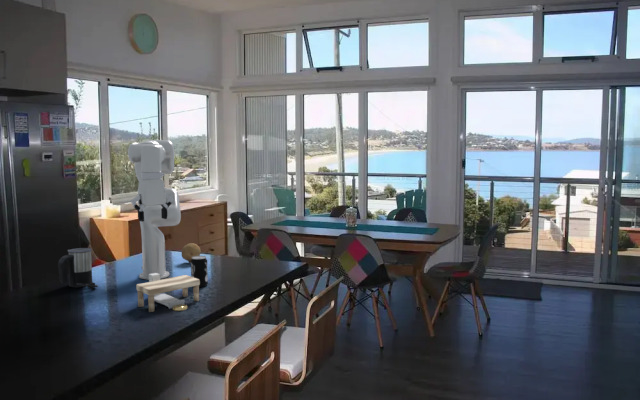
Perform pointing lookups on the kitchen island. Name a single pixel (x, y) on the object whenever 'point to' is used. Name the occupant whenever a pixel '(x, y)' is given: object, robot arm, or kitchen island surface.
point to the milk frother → (77, 268)
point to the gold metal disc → (179, 307)
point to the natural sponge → (190, 251)
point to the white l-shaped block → (164, 298)
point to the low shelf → (166, 288)
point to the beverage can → (199, 269)
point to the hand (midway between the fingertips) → (153, 219)
